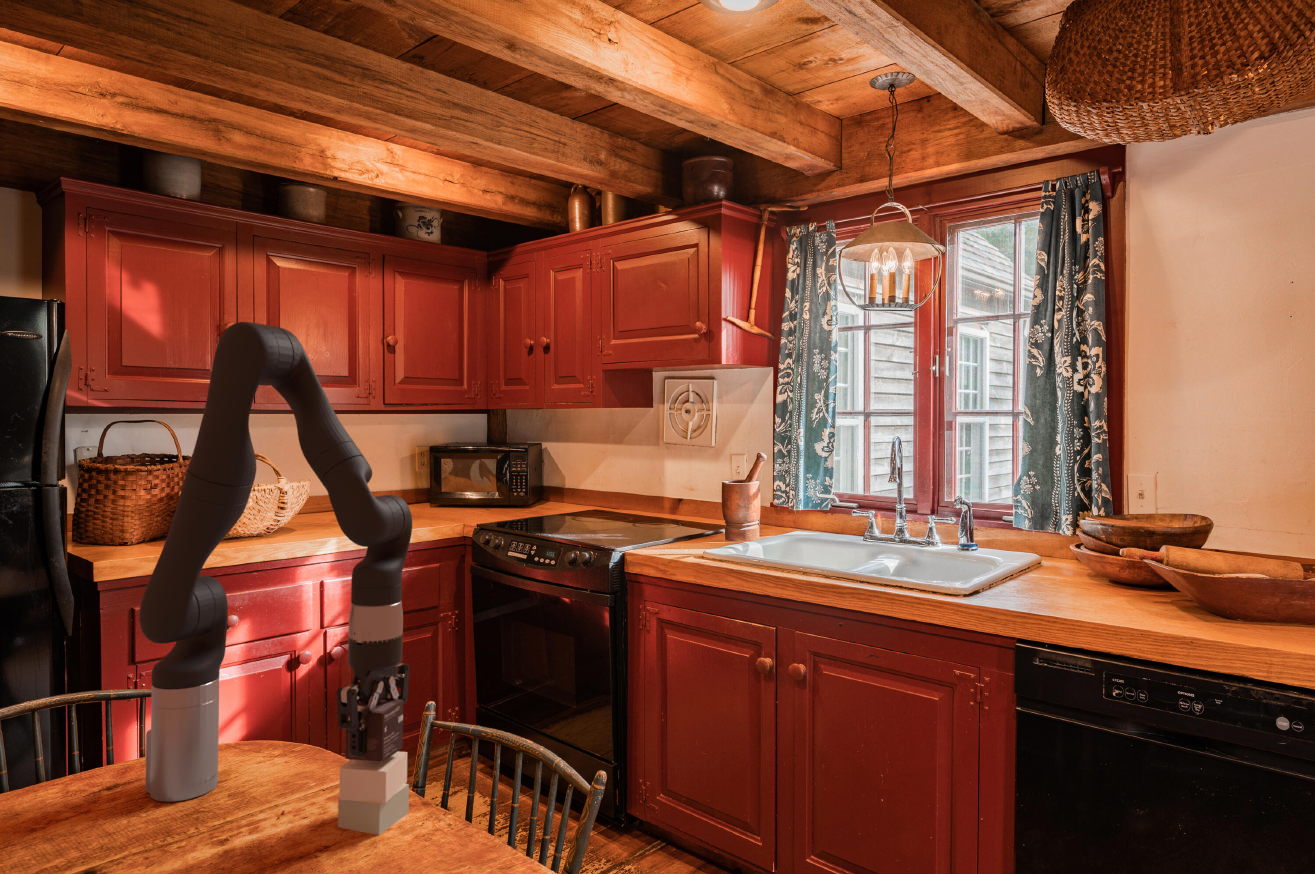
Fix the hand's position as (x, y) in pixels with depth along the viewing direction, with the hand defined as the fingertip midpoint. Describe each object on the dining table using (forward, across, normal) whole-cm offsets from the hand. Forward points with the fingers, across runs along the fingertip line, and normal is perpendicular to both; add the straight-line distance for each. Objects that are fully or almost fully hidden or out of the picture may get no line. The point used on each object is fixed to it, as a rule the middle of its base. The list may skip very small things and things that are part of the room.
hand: (373, 745), depth 117 cm
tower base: (+11, 0, 0) cm, 11 cm away
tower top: (+7, 0, 0) cm, 7 cm away
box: (+1, 0, 0) cm, 1 cm away
